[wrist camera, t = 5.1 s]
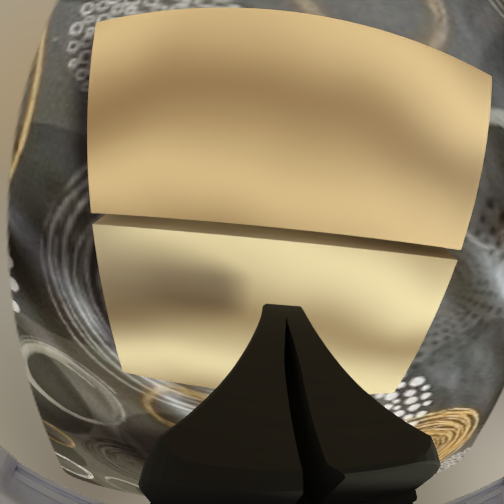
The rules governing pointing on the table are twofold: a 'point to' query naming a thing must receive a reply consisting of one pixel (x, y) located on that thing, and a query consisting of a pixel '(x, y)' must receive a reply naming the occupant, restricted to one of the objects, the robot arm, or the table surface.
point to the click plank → (262, 295)
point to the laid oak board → (284, 125)
